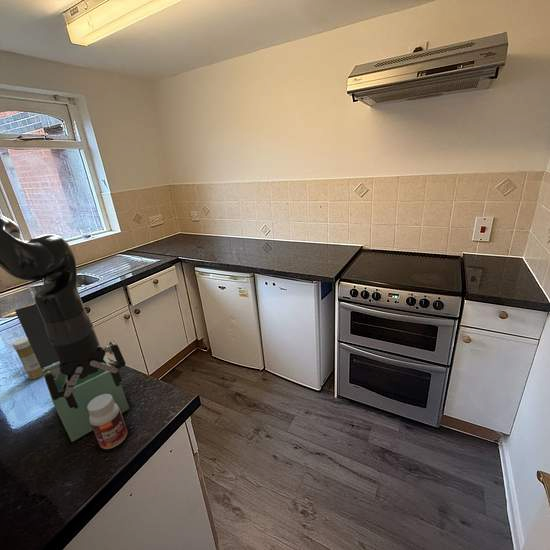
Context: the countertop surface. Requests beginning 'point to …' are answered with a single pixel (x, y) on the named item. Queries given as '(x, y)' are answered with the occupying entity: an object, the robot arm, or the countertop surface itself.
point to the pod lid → (37, 335)
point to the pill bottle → (106, 421)
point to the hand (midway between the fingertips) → (97, 395)
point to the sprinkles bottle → (28, 358)
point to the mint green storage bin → (85, 399)
